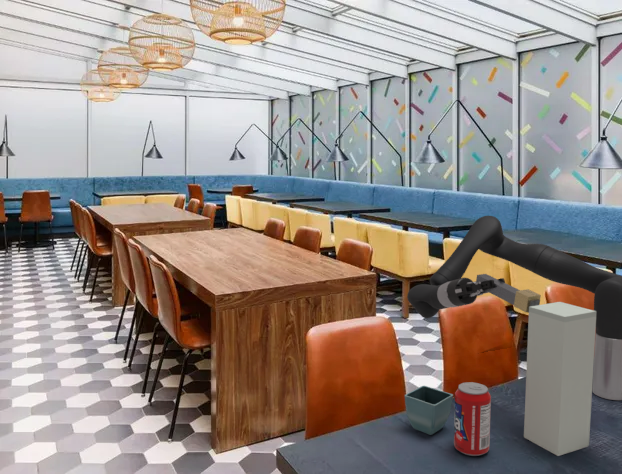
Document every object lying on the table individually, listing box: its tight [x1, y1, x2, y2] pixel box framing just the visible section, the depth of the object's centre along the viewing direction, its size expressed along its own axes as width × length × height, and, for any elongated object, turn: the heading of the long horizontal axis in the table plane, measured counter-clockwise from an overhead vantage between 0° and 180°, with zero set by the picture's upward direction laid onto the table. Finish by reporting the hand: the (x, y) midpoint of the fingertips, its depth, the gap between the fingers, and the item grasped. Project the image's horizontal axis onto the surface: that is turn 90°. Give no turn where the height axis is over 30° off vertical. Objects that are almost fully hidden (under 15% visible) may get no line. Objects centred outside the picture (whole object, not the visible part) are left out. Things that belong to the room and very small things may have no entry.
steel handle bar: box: [475, 273, 542, 314], centre depth 147 cm, size 4×19×4 cm, turn 26°
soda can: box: [453, 381, 492, 457], centre depth 132 cm, size 8×8×15 cm
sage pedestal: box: [523, 301, 596, 457], centre depth 134 cm, size 10×10×32 cm
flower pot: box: [404, 385, 454, 436], centre depth 143 cm, size 9×9×9 cm
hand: (498, 282), depth 150 cm, fingers closed on steel handle bar, 3 cm apart
